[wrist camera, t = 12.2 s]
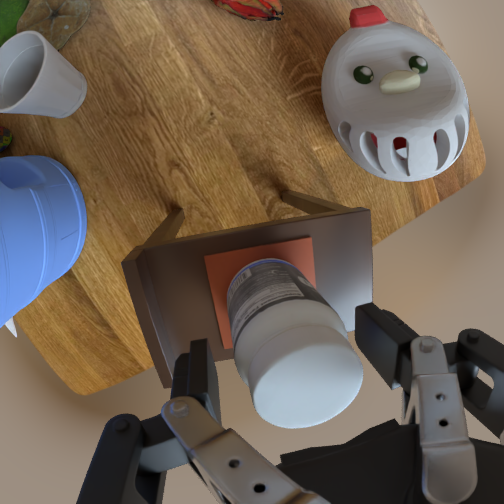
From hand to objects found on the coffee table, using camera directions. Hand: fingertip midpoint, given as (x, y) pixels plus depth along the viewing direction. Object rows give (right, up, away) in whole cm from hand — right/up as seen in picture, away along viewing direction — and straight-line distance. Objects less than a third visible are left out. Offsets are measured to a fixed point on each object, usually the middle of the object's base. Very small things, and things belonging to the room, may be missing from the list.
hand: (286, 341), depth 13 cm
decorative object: (+12, +22, +20) cm, 32 cm away
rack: (-3, +6, +22) cm, 23 cm away
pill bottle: (-1, +1, +5) cm, 5 cm away
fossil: (-26, +33, +12) cm, 43 cm away
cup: (-24, +23, +15) cm, 36 cm away
